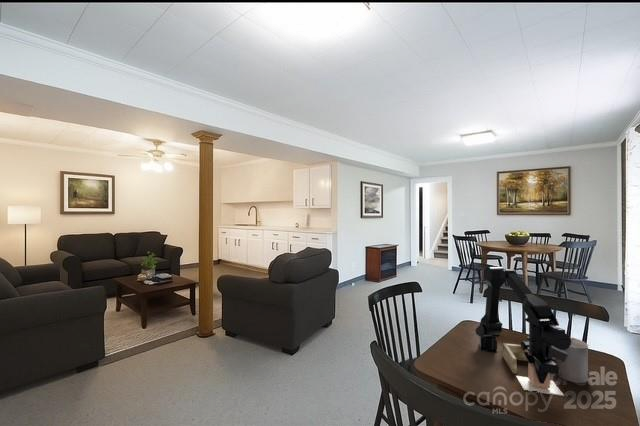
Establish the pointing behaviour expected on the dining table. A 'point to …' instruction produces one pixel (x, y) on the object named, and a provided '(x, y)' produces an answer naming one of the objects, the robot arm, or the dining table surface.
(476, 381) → the dining table surface
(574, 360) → the pillar candle
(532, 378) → the terracotta block
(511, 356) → the open front box
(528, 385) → the cream mat
